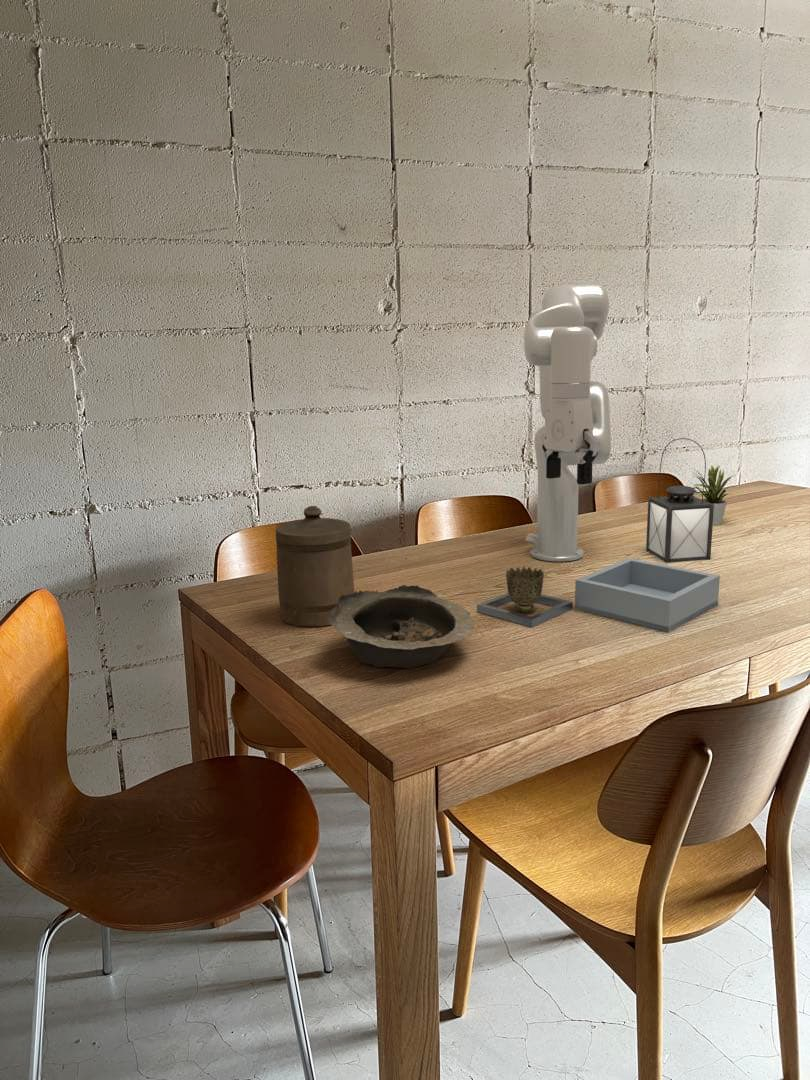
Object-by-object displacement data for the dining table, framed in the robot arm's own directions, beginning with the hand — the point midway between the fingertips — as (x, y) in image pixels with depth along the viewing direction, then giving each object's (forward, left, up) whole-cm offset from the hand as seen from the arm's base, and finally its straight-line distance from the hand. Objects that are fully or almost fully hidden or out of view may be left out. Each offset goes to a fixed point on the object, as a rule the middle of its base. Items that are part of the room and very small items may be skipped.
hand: (568, 480), depth 166 cm
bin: (+15, +6, -25) cm, 29 cm away
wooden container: (-32, -39, -25) cm, 56 cm away
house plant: (-7, +79, -25) cm, 83 cm away
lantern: (+2, +44, -25) cm, 51 cm away
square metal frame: (-2, -11, -25) cm, 27 cm away
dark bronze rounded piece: (-2, -11, -25) cm, 27 cm away
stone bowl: (-5, -42, -25) cm, 49 cm away
